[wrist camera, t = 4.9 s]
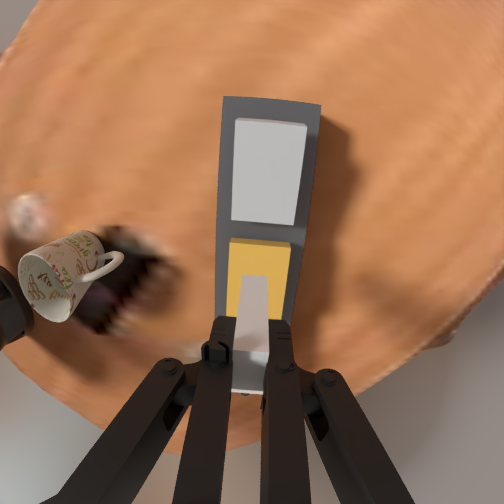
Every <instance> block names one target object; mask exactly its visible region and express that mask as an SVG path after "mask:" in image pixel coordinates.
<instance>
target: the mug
mask: <svg viewBox="0 0 504 504" xmlns="http://www.w3.org/2000/svg"><path fill="white" fill-rule="evenodd" d="M105 259H113V260H112V261H111V262H110V263H109V264H107V265H105V266H104V263H105ZM123 259H124V255H123V253H121V252H118V251H112V252H108V253H105V252H104V248H103V246H102V244H101V242H100V241H99V239H98V238H97V237H96V236H95V235H93V234H92V233H90V232H88V231H84V230H81V231H77V232H74V233H72V234H70V235H67V236H65V237H62V238H60V239H58V240H55V241H53V242H51V243H48V244H46V245H44V246H41V247H39V248H37V249H35V250H33V251H30V252H29V253H27V254H25V255H24V256H23V257H22V258H21V260H20V262H19V265H18V278H19V282H20V286H21V288H22V291H23V293H24V295H25V297H26V298H27V300H28V302H29V303H30V304H31V306H32V307H33V308H34V309H35V310H36V311H37V312H38V313H39V314H40V315H42V316H43V317H44V318H46V319H48V320H50V321H53V322H64V321H66V320H67V319H68V318H69V317H70V316H71V314H72V313H73V311H74V310H75V308H76V307H77V305H78V303H79V302H80V300H81V299H82V297H83V296H84V294H85V293H86V291H87V290H88V288H89V287H90V285H91V284H92V282H93V281H94V280H95V279H98V278H100V277H102V276H104V275H106V274H107V273H109V272H111V271H112V270H114V269H115V268H116V267H118V266H119V265H120V264H121V263H122V261H123ZM103 266H104V267H103Z"/></svg>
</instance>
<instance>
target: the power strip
mask: <svg viewBox="0 0 504 504" xmlns="http://www.w3.org/2000/svg"><path fill="white" fill-rule="evenodd" d="M320 113H321V105H317V104H311V103H304V102H296V101H288V100H278V99H268V98H254V97H234V96H223V108H222V122H221V137H220V153H219V172H218V193H217V218H216V254H215V319H216V318H217V317H218V316H219V315H220V316H226V306H227V284H228V264H229V245H230V240H231V238H232V237H233V238H245V239H256V240H268V241H279V242H289V243H290V246H291V252H290V259H289V267H288V274H287V282H286V289H285V296H284V303H283V310H282V316H281V320H286V322H287V323H288V324H289V326H290V323H291V318H292V313H293V308H294V303H295V297H296V292H297V286H298V280H299V275H300V269H301V263H302V257H303V250H304V244H305V237H306V231H307V224H308V217H309V210H310V203H311V195H312V187H313V179H314V171H315V163H316V154H317V144H318V134H319V124H320ZM237 118H252V119H265V120H276V121H286V122H295V123H303V124H305V125H306V126H307V133H306V141H305V149H304V156H303V164H302V171H301V178H300V185H299V192H298V199H297V205H296V212H295V218H294V224H293V225H284V224H273V223H262V222H250V221H238V220H231V212H232V184H233V159H234V138H235V120H236V119H237ZM241 394H242V395H244V396H247V395H249V394H250V393H241Z"/></svg>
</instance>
